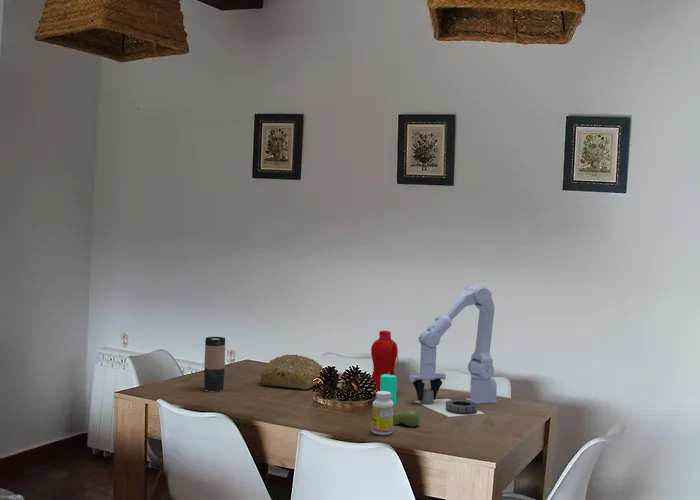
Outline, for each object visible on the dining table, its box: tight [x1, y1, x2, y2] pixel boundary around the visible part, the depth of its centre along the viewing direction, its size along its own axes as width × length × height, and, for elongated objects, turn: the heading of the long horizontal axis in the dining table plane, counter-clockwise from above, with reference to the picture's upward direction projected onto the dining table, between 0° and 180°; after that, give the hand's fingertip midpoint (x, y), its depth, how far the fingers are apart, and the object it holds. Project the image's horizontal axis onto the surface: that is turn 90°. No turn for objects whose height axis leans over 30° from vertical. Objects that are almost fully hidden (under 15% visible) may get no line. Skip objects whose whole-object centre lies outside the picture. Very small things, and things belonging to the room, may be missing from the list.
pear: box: [393, 409, 421, 428], centre depth 261 cm, size 6×5×10 cm
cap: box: [419, 387, 434, 405], centre depth 292 cm, size 5×5×5 cm
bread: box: [259, 353, 323, 390], centre depth 318 cm, size 24×21×12 cm
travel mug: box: [203, 336, 226, 391], centre depth 303 cm, size 8×8×20 cm
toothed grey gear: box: [446, 399, 478, 416], centre depth 282 cm, size 11×11×3 cm
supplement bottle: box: [371, 391, 395, 436], centre depth 250 cm, size 7×7×13 cm
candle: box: [380, 374, 398, 405], centre depth 289 cm, size 6×6×12 cm
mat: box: [414, 398, 486, 418], centre depth 287 cm, size 15×24×1 cm, turn 25°
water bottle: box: [370, 330, 399, 394], centre depth 302 cm, size 9×11×25 cm
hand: (426, 399), depth 292 cm, fingers closed on cap, 5 cm apart
